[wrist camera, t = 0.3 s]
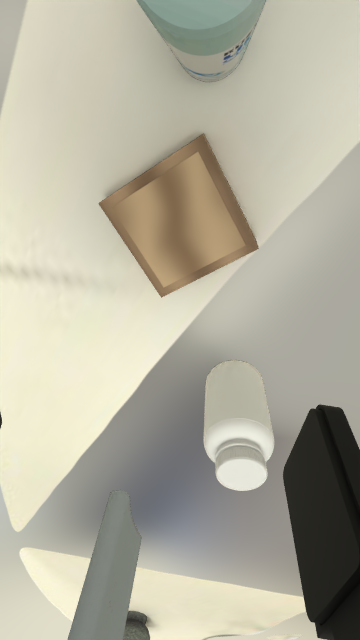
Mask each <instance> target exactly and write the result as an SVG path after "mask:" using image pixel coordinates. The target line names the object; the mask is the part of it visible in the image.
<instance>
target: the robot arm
mask: <svg viewBox="0 0 360 640" xmlns="http://www.w3.org/2000/svg"><path fill="white" fill-rule="evenodd" d="M1 425H2V418H1V413H0V428H1ZM283 479H284V486H285V491H286V497H287V503H288V508H289V514H290V520H291V525H292V532H293V537H294V543H295V549H296V554H297V561H298V566H299V572H300V578H301V584H302V589H303V595H304V601H305V607H306V612H307V615H308V618H309V620H310V621H311V622H314V623H315V626H316V631H317V637H318V638H321V639H327V640H360V450H359V447H358V445H357V442H356V440H355V438H354V435H353V433H352V431H351V428H350V426H349V424H348V421H347V418H346V416H345V414H344V412H343V410H342V409H341V408H339V407H332V406H326V405H318V406H317V407H316V409H310V411H309V413H308V415H307V418H306V420H305V422H304V424H303V426H302V429H301V431H300V433H299V435H298V437H297V440H296V442H295V444H294V446H293V449H292V451H291V453H290V455H289V458H288V460H287V462H286V464H285V467H284V472H283Z"/></svg>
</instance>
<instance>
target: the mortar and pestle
mask: <svg viewBox="0 0 360 640" xmlns="http://www.w3.org/2000/svg"><path fill="white" fill-rule="evenodd" d="M146 620H147V617H146V616H145V615H144V614H142V613H140V612H136V611H129V612H128V614H127V619H126V625H125V630H124V636H123V640H150V635H149V631H148V629H147V627H146V625H145V623H146Z"/></svg>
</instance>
